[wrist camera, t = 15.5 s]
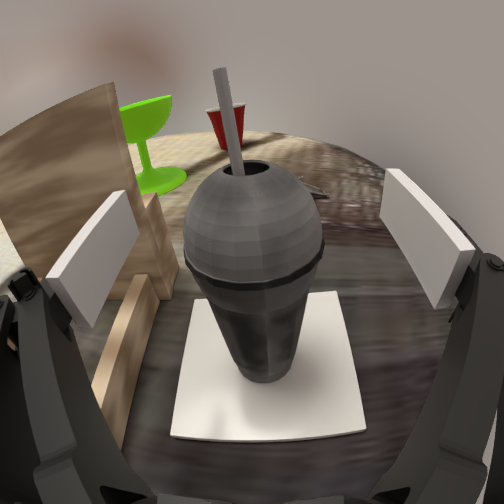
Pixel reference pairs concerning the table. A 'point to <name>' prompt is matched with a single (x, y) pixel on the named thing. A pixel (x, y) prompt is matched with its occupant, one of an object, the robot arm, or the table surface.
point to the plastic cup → (218, 124)
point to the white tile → (269, 384)
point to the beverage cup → (253, 253)
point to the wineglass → (137, 131)
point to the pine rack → (76, 216)
